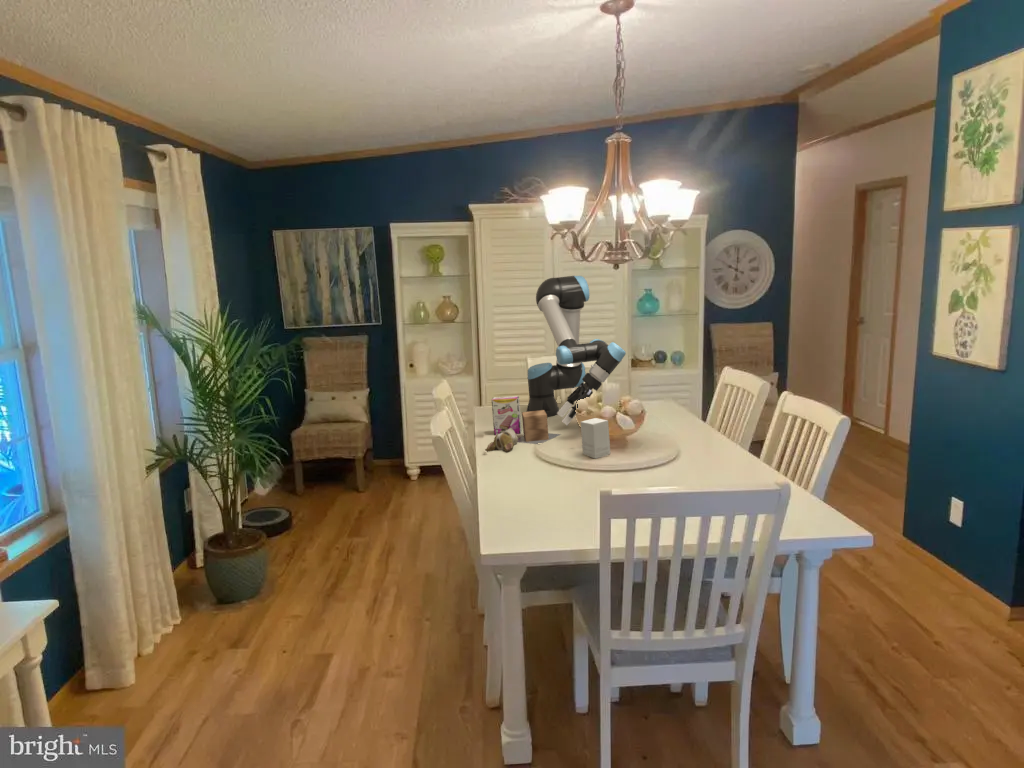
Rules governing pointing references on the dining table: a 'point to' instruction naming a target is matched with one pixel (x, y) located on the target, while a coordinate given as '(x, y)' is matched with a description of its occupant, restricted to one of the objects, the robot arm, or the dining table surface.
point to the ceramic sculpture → (504, 441)
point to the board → (551, 436)
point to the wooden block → (535, 425)
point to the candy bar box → (506, 414)
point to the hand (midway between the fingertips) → (561, 419)
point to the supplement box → (595, 437)
